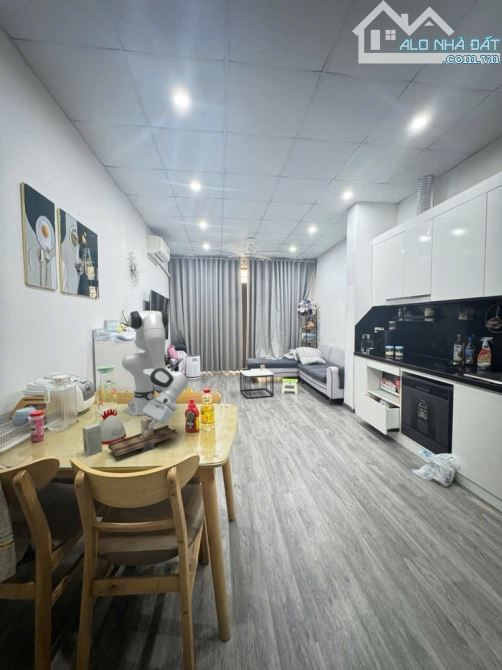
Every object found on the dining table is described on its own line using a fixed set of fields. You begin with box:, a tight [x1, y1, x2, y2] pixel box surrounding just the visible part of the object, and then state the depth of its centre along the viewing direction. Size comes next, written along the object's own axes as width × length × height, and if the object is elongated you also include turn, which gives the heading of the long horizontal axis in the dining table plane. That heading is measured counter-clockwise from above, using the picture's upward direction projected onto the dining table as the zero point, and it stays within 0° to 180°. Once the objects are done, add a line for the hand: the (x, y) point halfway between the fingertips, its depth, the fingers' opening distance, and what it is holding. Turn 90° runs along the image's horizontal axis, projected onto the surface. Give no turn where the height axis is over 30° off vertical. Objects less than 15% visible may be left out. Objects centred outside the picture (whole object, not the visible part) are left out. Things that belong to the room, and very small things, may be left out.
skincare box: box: [82, 422, 103, 457], centre depth 118 cm, size 6×4×12 cm
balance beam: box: [107, 424, 178, 457], centre depth 123 cm, size 28×11×5 cm, turn 135°
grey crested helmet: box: [98, 408, 127, 446], centre depth 132 cm, size 14×14×15 cm
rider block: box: [140, 417, 154, 438], centre depth 124 cm, size 4×4×8 cm
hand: (145, 426), depth 123 cm, fingers closed on rider block, 4 cm apart
